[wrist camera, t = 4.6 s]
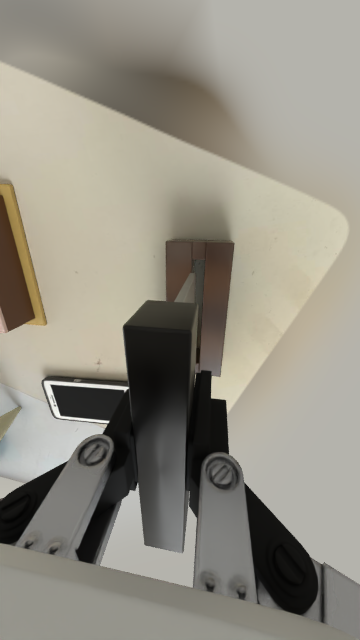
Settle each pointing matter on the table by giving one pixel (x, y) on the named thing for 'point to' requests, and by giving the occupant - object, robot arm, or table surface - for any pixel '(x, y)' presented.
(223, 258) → the brown slotted box
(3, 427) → the ice cream cone
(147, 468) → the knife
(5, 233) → the cake
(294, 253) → the table surface
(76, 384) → the cell phone
